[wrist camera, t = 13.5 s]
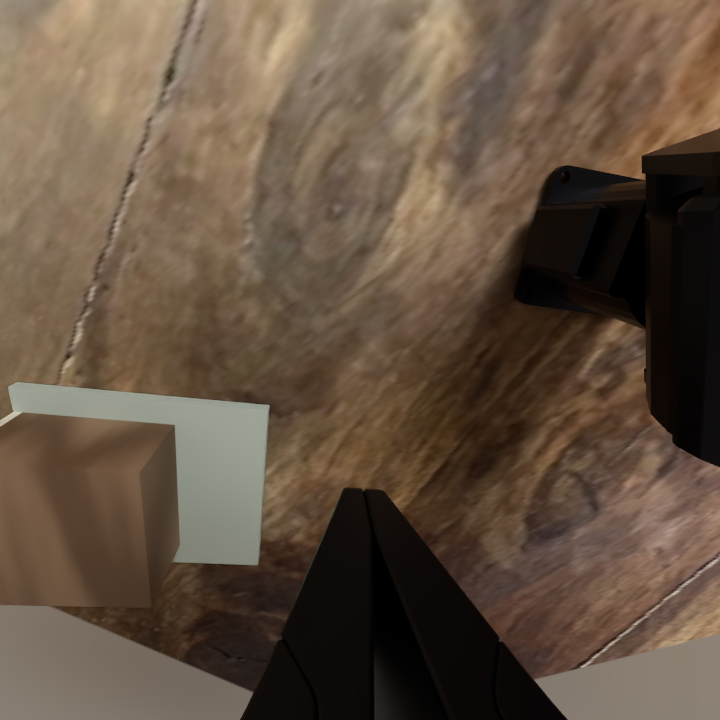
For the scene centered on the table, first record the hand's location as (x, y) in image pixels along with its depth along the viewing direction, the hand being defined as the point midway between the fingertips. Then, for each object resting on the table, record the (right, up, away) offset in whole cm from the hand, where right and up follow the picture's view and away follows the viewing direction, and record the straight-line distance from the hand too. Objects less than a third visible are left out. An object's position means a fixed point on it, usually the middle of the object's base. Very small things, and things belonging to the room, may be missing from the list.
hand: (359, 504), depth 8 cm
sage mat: (-12, -4, +14) cm, 19 cm away
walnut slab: (-11, -5, +12) cm, 17 cm away
